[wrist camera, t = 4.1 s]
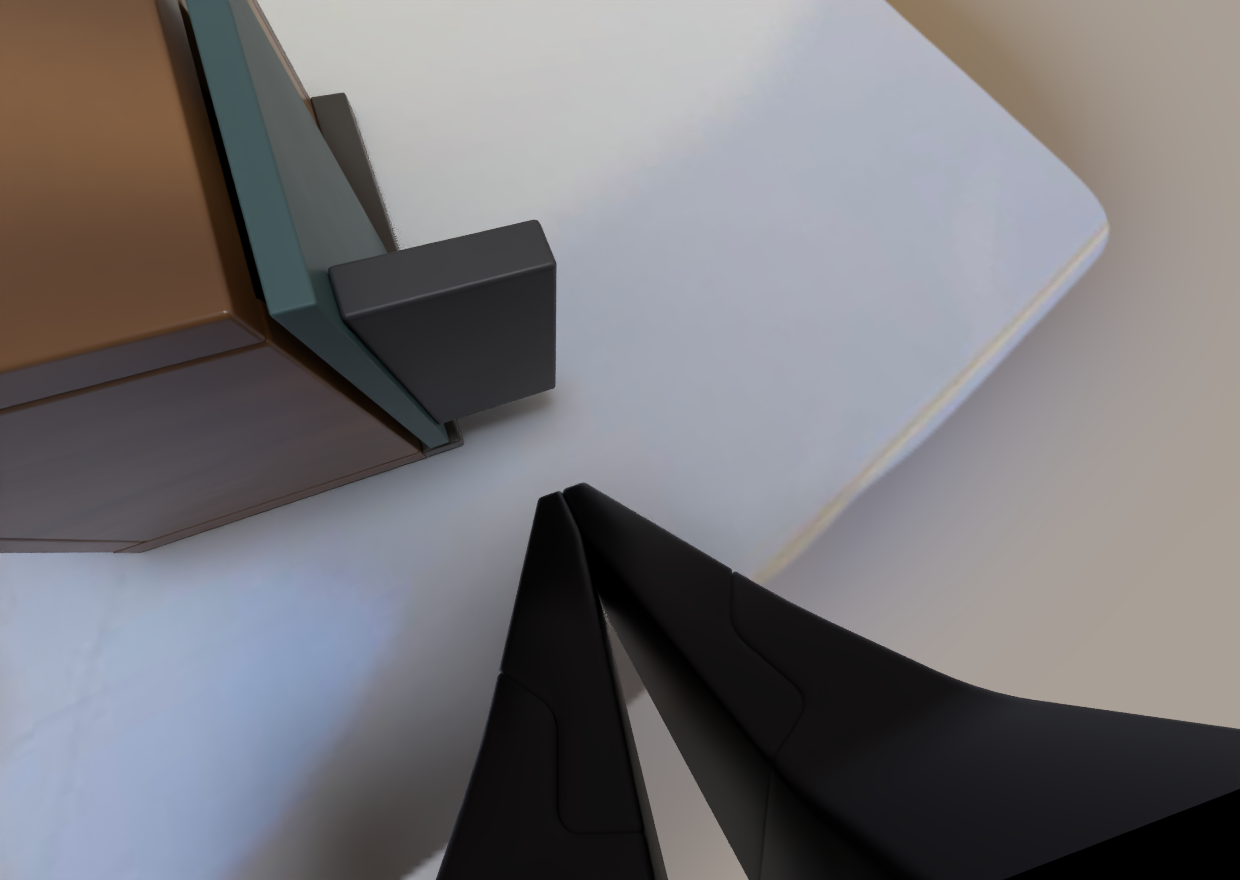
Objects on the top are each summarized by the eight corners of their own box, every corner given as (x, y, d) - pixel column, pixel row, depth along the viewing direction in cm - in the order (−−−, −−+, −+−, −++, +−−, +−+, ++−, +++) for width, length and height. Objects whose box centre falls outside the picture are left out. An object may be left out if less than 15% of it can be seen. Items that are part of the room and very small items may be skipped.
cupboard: (464, 444, 14) (333, 290, 6) (138, 553, 13) (-792, 561, 4) (351, 106, 17) (139, -358, 8) (62, 152, 15) (-617, -397, 6)
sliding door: (558, 406, 14) (563, 243, 7) (430, 448, 14) (267, 315, 6) (489, 226, 16) (427, -86, 8) (368, 254, 15) (165, -68, 7)
